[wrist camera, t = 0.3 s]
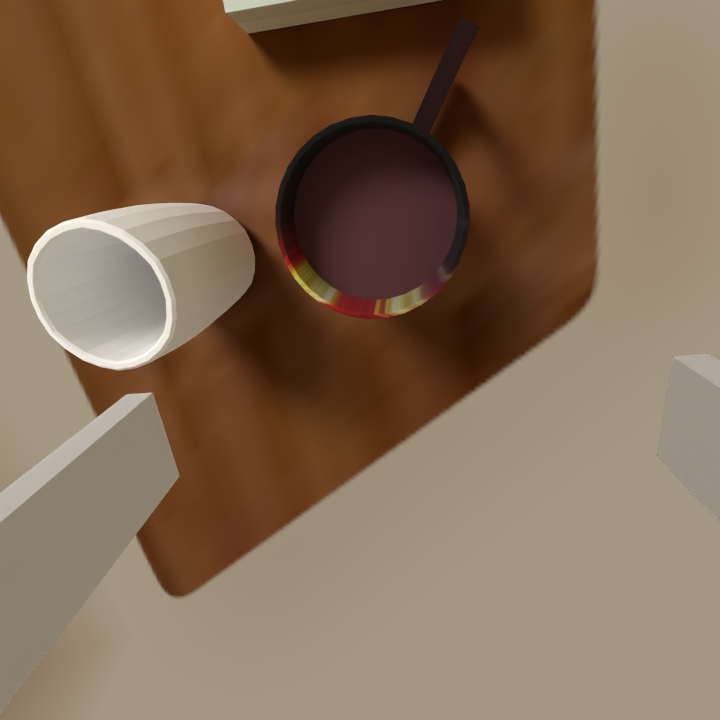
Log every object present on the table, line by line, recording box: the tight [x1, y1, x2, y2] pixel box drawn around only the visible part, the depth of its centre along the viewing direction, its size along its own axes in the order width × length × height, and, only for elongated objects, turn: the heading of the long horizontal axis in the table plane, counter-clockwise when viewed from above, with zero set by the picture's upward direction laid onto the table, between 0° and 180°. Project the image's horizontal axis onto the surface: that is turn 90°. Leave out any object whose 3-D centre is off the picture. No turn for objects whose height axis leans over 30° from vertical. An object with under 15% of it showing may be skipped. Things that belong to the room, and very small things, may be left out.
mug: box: [275, 16, 479, 319], centre depth 27 cm, size 10×14×12 cm
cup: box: [27, 203, 255, 370], centre depth 29 cm, size 8×8×14 cm
